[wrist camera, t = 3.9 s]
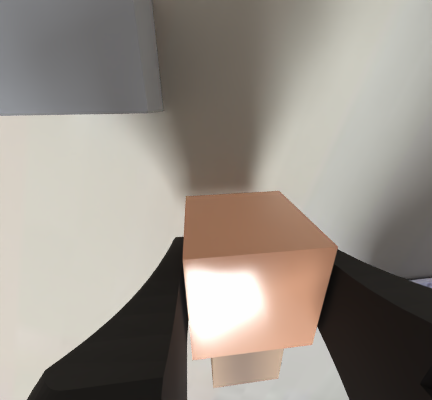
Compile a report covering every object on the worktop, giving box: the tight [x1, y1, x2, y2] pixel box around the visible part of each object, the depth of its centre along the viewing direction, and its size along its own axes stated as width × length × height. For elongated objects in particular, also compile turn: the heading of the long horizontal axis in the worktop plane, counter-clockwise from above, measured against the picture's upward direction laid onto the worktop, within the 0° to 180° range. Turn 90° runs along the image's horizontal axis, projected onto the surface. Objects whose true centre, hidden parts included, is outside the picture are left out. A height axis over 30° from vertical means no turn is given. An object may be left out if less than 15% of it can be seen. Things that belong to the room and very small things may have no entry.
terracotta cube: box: [183, 191, 338, 360], centre depth 10 cm, size 5×5×5 cm
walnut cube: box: [211, 348, 284, 388], centre depth 17 cm, size 5×5×5 cm
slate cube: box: [0, 0, 164, 116], centre depth 9 cm, size 5×5×5 cm
